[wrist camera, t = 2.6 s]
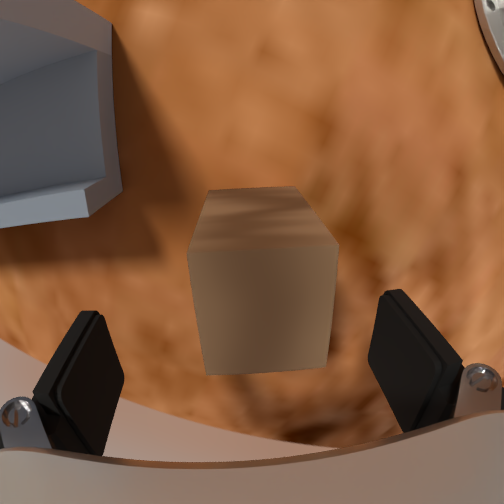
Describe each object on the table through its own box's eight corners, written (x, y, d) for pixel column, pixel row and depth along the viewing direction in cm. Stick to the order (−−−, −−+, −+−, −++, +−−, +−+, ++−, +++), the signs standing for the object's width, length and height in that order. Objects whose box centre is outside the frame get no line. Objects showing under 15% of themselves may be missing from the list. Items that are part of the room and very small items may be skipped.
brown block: (294, 186, 17) (339, 244, 9) (293, 281, 19) (323, 379, 12) (209, 190, 17) (186, 253, 9) (217, 285, 19) (208, 387, 12)
